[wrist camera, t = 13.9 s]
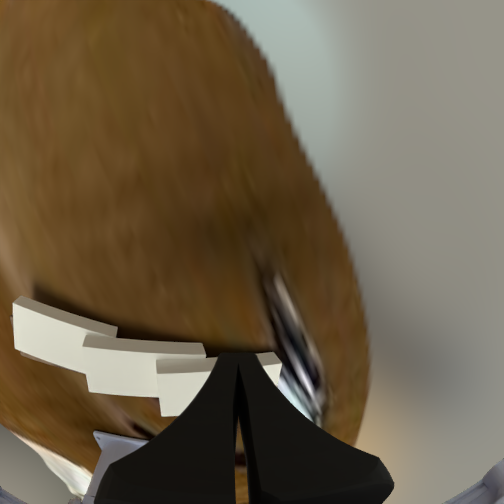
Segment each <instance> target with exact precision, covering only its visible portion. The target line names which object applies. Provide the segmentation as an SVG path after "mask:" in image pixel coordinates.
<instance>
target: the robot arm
mask: <svg viewBox="0 0 504 504" xmlns="http://www.w3.org/2000/svg"><path fill="white" fill-rule="evenodd" d="M238 415H239V422H240V428H241V435H242V441H243V447H244V453H245V458H246V466H247V480H248V496H249V504H382V503H383V502H384V501H385V500H386V499H387V497H388V496H389V495H390V494H391V492H392V490H393V489H394V482H393V480H392V477H391V475H390V473H389V472H388V470H387V468H386V467H385V466H384V464H383V463H382V461H381V460H380V458H379V457H376V456H374V455H371V454H369V453H366V452H364V451H361V450H359V449H357V448H354V447H352V446H350V445H348V444H346V443H344V442H342V441H340V440H338V439H337V438H335V437H333V436H332V435H330V434H329V433H327V432H326V431H324V430H323V429H321V428H320V427H318V426H317V425H315V424H314V423H313V422H312V421H310V420H309V419H308V418H307V417H305V416H304V415H303V414H302V413H301V412H300V411H299V410H298V409H296V408H295V407H294V406H293V405H292V404H291V403H290V401H289V400H288V399H287V398H286V397H285V396H284V395H283V394H282V393H281V391H280V390H279V389H278V388H277V386H276V385H275V384H274V382H273V381H272V380H271V378H270V377H269V376H268V374H267V373H266V371H265V369H264V368H263V366H262V365H261V363H260V361H259V359H258V357H257V355H256V354H255V353H220V354H219V355H218V358H217V361H216V363H215V365H214V367H213V369H212V371H211V373H210V375H209V377H208V378H207V380H206V382H205V383H204V385H203V386H202V388H201V389H200V391H199V392H198V393H197V395H196V396H195V397H194V399H193V400H192V401H191V403H190V404H189V405H188V406H187V407H186V409H185V410H184V411H183V412H182V413H181V414H180V415H179V416H178V417H177V418H176V419H175V420H174V421H173V422H172V423H171V424H170V425H169V426H168V427H167V428H165V429H164V430H163V431H162V432H161V433H159V434H158V435H157V436H156V437H154V438H153V439H151V440H150V441H147V440H140V439H134V438H128V437H123V436H118V435H113V434H108V433H104V432H99V431H94V432H93V435H94V437H95V439H96V441H97V442H98V444H99V446H100V448H101V450H102V452H101V455H100V458H99V460H98V463H97V466H96V468H95V471H94V474H93V476H92V479H91V482H90V485H89V487H88V490H87V493H86V494H85V496H84V498H83V501H82V502H81V499H80V498H78V497H76V498H75V499H74V498H73V499H70V500H69V502H68V504H236V496H235V470H234V467H235V449H236V437H237V424H238ZM0 504H27V503H25V502H23V501H21V500H20V499H18V498H16V497H15V496H13V495H11V494H10V493H8V492H7V491H5V490H4V489H2V488H1V486H0ZM443 504H504V458H503V459H502V460H501V461H500V462H498V463H497V464H496V465H495V466H494V467H492V469H490V470H489V471H488V472H487V474H486V475H485V476H484V477H483V479H482V480H480V481H479V482H477V483H476V484H474V485H473V486H471V487H470V488H468V489H467V490H465V491H463V492H462V493H460V494H458V495H457V496H455V497H453V498H452V499H450V500H448V501H446V502H445V503H443Z"/></svg>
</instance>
